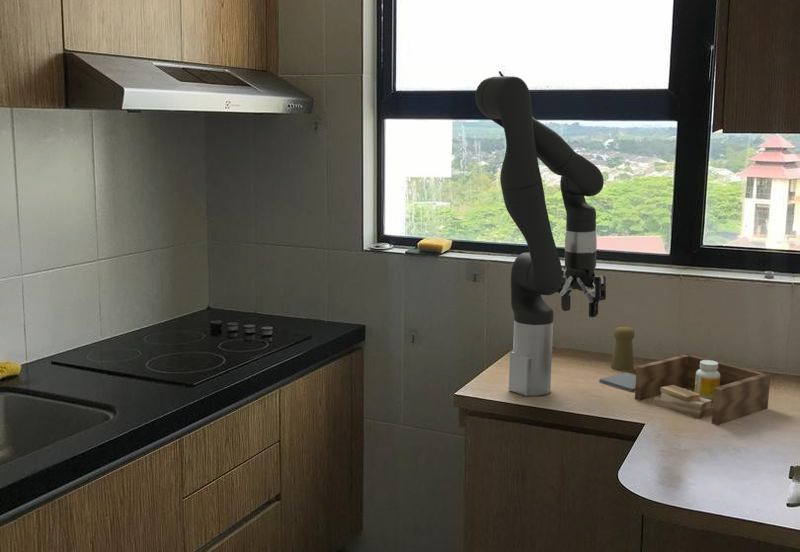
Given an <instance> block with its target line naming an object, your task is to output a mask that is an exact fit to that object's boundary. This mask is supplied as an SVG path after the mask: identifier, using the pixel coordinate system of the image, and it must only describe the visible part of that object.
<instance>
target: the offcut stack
mask: <svg viewBox="0 0 800 552" xmlns="http://www.w3.org/2000/svg"><path fill="white" fill-rule="evenodd" d="M660 392H661V393H662V394H661V395H659V396H656V397H653V405H654V406H658V407H660V408H664V409H666V410H670V411H673V412H676V413H680V414H682V415H686V416H689V417H692V418H695V419H702V418H705V417H708V416H712V411H713V407H712V405H711V401H712V400H709V399H705V398H701V397H700V394H698V393H695V392H694V391H692V390H688V389H687V388H681V387H678V386H675V385H670V386H665V387H661V389H660Z"/></svg>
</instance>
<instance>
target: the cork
mask: <svg viewBox="0 0 800 552" xmlns="http://www.w3.org/2000/svg"><path fill="white" fill-rule="evenodd" d="M613 331H614V333H613V336H614V339H615V341H614V342H615V343H614V347H613V352H612V356H611V357H612V359H611V362H610V363H611V364H610V369H612V370H614V371H620V372H630V371H631V372H632V371H634V370H635V366H634V365H635V363H634V349H633V339H634V338H635V331H634V329H633V328H632V327H629V326H618V327H616V328H615V329H614V330H613Z"/></svg>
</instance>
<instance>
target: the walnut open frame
mask: <svg viewBox="0 0 800 552" xmlns="http://www.w3.org/2000/svg"><path fill="white" fill-rule="evenodd" d="M702 360H711V361H715V362H718V369H717V370H716V371H718V372H719V373H720V386H719V387H716V388H714V398H713V405H712V408H713V411H712V415H711V416H712V417H711V424H713V425H715V426H720V424H721V425H723V424H726V423H729V422H731V421H736V420H738V419H740V418H743V417H748V416H749V415H753V414H756V413H759V412H761V411H765V410H767V409H768V407H769V399H770V398H769V396H770V387H771V386H770V385H771V384H770V383H771V374H770V373H766V372H762V371H757V370H755V369H754V370H753V369H749V368H745V367H741V366H737V365H734V364H729V363H726V362H722V361H718V360H713V359H709V358H706V357H702V356H697V355H695V354H694V355H693V354H690V353H685V354H681V355H677V356H673V357H669V358H665V359H660V360H657V361H653V362H649V363H645V364H641V365H637V366H636V368H635V371H636V372H635V375H636V385H635V391H634V400H636V401H639V402H641V401H644V400H648V399H652V398H656V397H660V396H661V394H662V393H661V392H660V389H661V387H665V386H670V385H675V386H678V387H681V388H684V389H691V390H694V391H695V378H696V372H697V370H699V369H701V368H700V361H702Z"/></svg>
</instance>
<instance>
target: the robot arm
mask: <svg viewBox="0 0 800 552" xmlns="http://www.w3.org/2000/svg"><path fill="white" fill-rule="evenodd" d="M474 96H475V97H474V98H475V104H476V106H477V108H478V110H479V111H480V112H481V114H482V115H484V116H485V117H487V118H488V119H489V120H491V121H492V122H493V123H495V124H497V125H498V126H500V127H501V128H502V129H503V132H504V136H505V153H504V158H503V161H502V165H501V170H500V176H499V180H500V187H501V192H502V198H503V202H504V206H505V209H506V211H507V213H508V215H509V216H510V218H511V219H512V221H513V223H515V226H516V227H517V228H518V230H519V231H520V233H521V235H523V237H524V240H525V241H526V245H527V248H528V252H523V253H520V254H519V255H517V257H516V258H515V259H514V261H513V264H512V267H511V272H510V303H511V310H512V311H513V340H512V341H513V342H512V343H513V344H512V351H510V353H509V367H508V368H509V373H508V391H510V392H514V393H517V394H519V395H521V396H524V397H528V396H535V397H536V396H544V395H547V394H549V393H550V392H551V385H552V384H551V382H552V359H553V358H552V357H553V356H552V355H553V354H552V353H553V335H554V333H553V331H554V311H553V309H552V307H550V306H549V305H548V304H547V303H546V302H545V301H544V299H543V297H542V296H553V295H555V293H558V294H559V295H560V296H561V298H560V299H561V300H560V301H561V302H560V303H561V304H560V305H561V310H562V311H563V312H567V311H570V310H571V299H572V298H571V295H570V294H571V293H572V292H573V290H577V291H580V292H583V293H584V295H585V296H586V297H587V299H588V301H589V302H588V318H592V319H593V318H596V317H597V316H598V314H599V302H601V301H605V300H606V299H607V286H606V282H607V281H606V276H605V275H596V274H595V269H596V267H597V248H598V245H597V233H596V232H597V229H596V228H597V225H596V224H597V210H596V209H595V207H594V206H592V205H590V204H588V203H587V201H586V197H594V196H596V195H599V194H600V193H601V192H602V191H603V188H604V182H605V180H604V175H603V173H602V171H601V170H600V168H599V167H597V166H596V165H595V164H594V163H593V162H592V161H590V160H588V158H585V157H584V156H582V155H581V154H579V153H578V152H576V151H575V150H574V149H573V148H572V147H571V146H570V145H569V143H567V142H566V141H565V139H564V138H563V137H562V136H560V134H558V133H557V132H556V131H555V130H553V129H552V128H550V127H549V126H547V125H546V124H544V123H542V122H541V121H539V120H537V119H536V118H534V117H533V108H532V99H531V93H530V89H529V87H528V85H527V83H526V82H525V81H524V79H522V78H520V77H519V76H515V75H513V76H511V75H510V76H509V75H508V76H507V75H505V76H503V75H502V76H499V75H498V76H490V77H488V78H485V79H483V80H482V81H481V82H480V83H479V84H478V85H477V88H476V90H475V95H474ZM539 160H540V162H542V163H543V165H544V166H545V167H547V169H548V170H549V171H550V172H552V173H553V174H555V175H557V176H560V182H559V185H560V192H561V196H562V201H563V206H564V209H565V212H566V216H565V218H566V224H565V227H566V228H565V237H564V267H562V263H561V258H560V255H559V253H558V252H559V251H558V249H557V246H556V245H557V244H556V241H555V240H554V239H555V238H554V235H553V232H552V228H551V227H552V226H551V223H550V219H549V213H548V208H547V203H546V195H545V191H544V190H545V189H544V185H543V179H542V174H541V170H540V166H539ZM566 280H567V281H566Z"/></svg>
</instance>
